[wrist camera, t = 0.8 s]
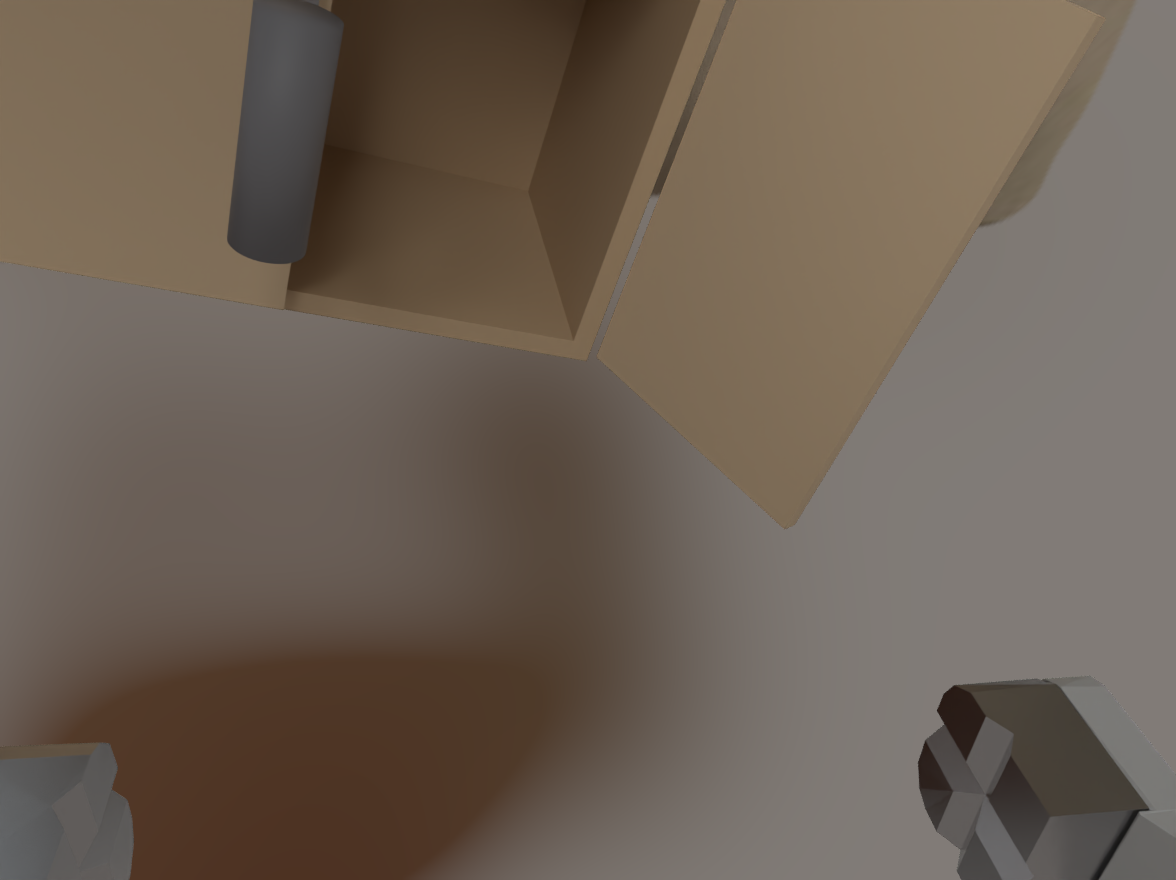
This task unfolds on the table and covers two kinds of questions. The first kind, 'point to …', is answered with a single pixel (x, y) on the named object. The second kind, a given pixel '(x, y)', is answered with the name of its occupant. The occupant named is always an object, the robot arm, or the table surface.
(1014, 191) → the table surface
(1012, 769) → the robot arm
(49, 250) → the flap
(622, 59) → the carton
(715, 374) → the flap
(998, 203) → the table surface
